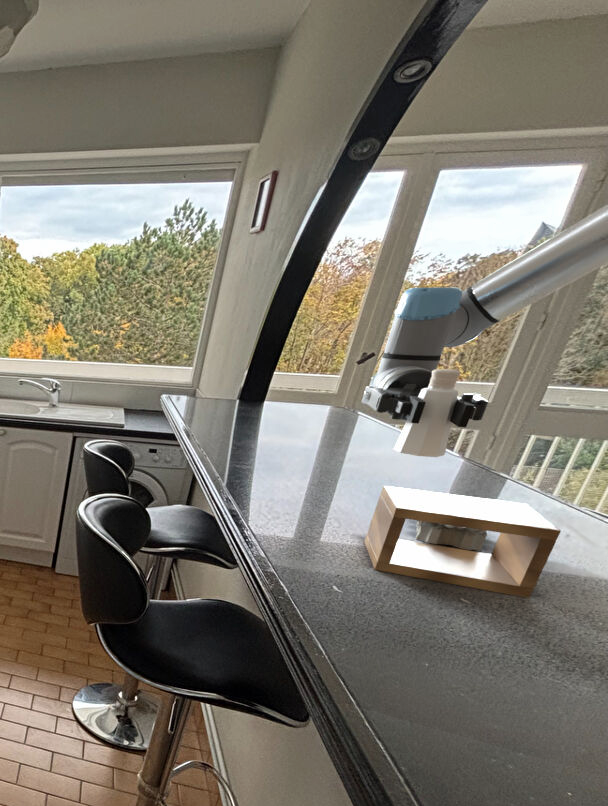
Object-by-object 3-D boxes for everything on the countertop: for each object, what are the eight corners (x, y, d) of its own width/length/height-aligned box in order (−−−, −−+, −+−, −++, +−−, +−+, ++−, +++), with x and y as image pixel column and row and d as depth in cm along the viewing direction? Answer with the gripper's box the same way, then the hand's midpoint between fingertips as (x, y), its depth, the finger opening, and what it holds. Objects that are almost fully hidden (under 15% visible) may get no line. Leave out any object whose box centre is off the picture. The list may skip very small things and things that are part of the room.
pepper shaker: (382, 448, 83) (409, 367, 79) (417, 447, 84) (445, 367, 80) (418, 457, 78) (448, 372, 74) (455, 456, 79) (487, 372, 75)
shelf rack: (500, 564, 75) (527, 503, 72) (529, 598, 66) (561, 530, 63) (364, 542, 82) (383, 485, 79) (374, 570, 73) (396, 507, 70)
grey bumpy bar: (415, 522, 90) (424, 496, 88) (482, 535, 85) (493, 508, 83) (409, 540, 83) (419, 512, 81) (482, 555, 78) (494, 526, 76)
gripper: (473, 422, 90) (522, 452, 72) (338, 412, 98) (350, 435, 80) (492, 372, 87) (548, 389, 69) (351, 365, 96) (367, 379, 77)
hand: (441, 414), depth 74 cm, fingers closed on pepper shaker, 4 cm apart
